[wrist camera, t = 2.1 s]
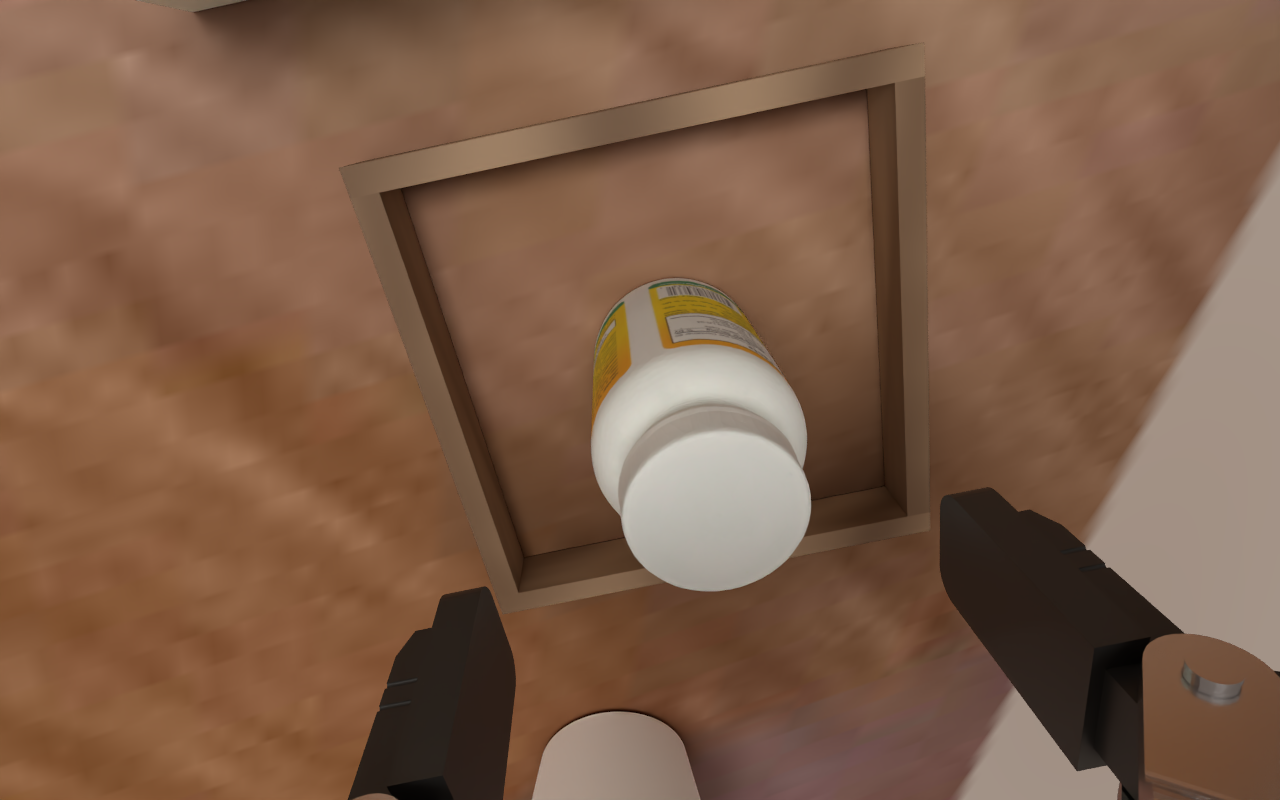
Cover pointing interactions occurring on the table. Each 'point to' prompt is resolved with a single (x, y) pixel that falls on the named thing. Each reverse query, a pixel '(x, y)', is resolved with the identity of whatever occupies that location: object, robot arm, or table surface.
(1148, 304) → the table surface
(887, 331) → the walnut frame
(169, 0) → the plastic bin
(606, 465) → the supplement bottle
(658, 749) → the cup
